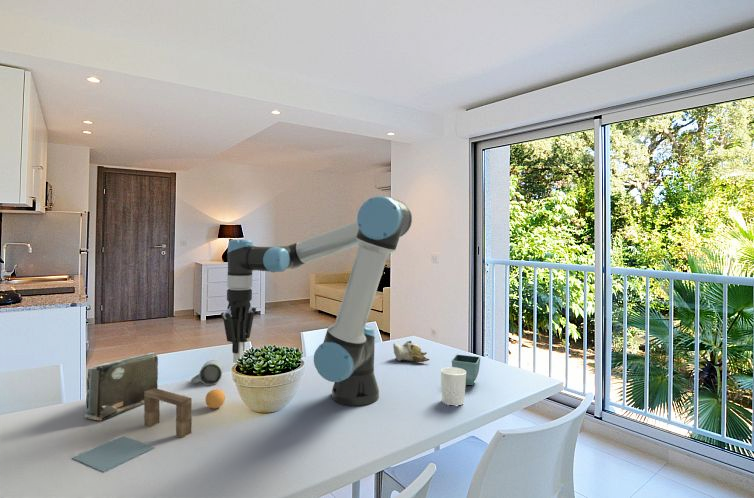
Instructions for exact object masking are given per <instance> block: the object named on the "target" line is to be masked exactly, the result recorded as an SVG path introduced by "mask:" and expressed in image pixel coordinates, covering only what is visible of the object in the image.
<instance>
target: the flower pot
mask: <svg viewBox="0 0 754 498" xmlns="http://www.w3.org/2000/svg"><path fill="white" fill-rule="evenodd" d="M480 364H481V357H480V356H476V355H475V356H473V355H465V354H455V356H454V357H452V359H451V367H456V368H461V369H464V370H465V371H466V385H472V386H473V385H474V384H475V382H474V381H476V379H477V377H478V375H479V371H480ZM466 385H465V386H466Z"/></svg>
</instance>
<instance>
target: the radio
mask: <svg viewBox="0 0 754 498" xmlns="http://www.w3.org/2000/svg"><path fill="white" fill-rule="evenodd" d="M158 367H159V358H158V355H157V354H156V353H155V352H154V351H151V352H148V353H144V354H140V355H139V354H138V355H134V356H131V357H126V358H124V359H118V360H114V361H111V362H105V363H102V364H98V365H94V366H91V367H90V366H89V368H88V369H87V378H86V399H85V405H86V412H84V413H83V418H84V419H89V420H95V421H103V420H106V419H108V418H112V417H114V416H116V415H119V414H121V413H124V412H126V411H129V410H131V409H134V408H136V407H139V406H142V405H144V392H145V391H148V390H151V389H153V388H156V389H158V380H159V378H158V375H159V371H158V370H159V368H158Z"/></svg>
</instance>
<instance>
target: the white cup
mask: <svg viewBox="0 0 754 498" xmlns="http://www.w3.org/2000/svg"><path fill="white" fill-rule="evenodd" d="M440 369H441V370H440V385H441V387H440V388H441V402H442V403H443V404H444V403H445V404H444V405H446V404H447V405H446V406H449V405H461V406H462V404H463V403H465V392H466V371H465V370H464V369H461V368H456V367H452V366H450V367H449V366H448V367H443V368H440ZM463 405H464V404H463Z"/></svg>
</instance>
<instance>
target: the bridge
mask: <svg viewBox="0 0 754 498" xmlns="http://www.w3.org/2000/svg"><path fill="white" fill-rule="evenodd" d="M160 401H161V402H164V403H168V404H171V405H175V415H176V416H175V436H176V437H177V438H181V439H182V438H184V437H186V436H188V435H190V434H192V412H193V411H192V409H193V408H192V401H193V399H192V397H189V396H186V395H182V394H178V393H175V392H170V391H167V390H162V389H159V388H157V389H156V388H153V389H151V390H148V391H145V392H144V404H143V406H144V412H143V413H144V420H143V421H144V422H143V423H144V426H145V427H148V428H151V427H152V426H156V425H158V424H160Z"/></svg>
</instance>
